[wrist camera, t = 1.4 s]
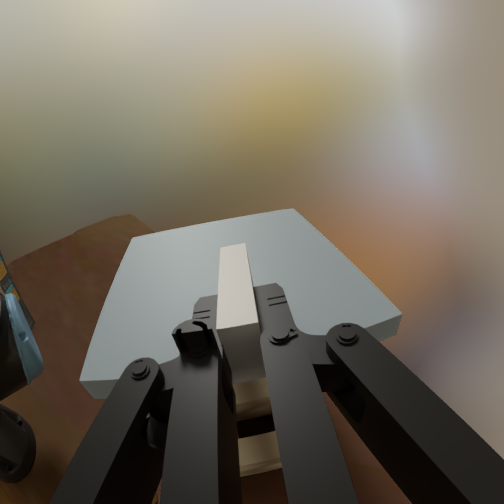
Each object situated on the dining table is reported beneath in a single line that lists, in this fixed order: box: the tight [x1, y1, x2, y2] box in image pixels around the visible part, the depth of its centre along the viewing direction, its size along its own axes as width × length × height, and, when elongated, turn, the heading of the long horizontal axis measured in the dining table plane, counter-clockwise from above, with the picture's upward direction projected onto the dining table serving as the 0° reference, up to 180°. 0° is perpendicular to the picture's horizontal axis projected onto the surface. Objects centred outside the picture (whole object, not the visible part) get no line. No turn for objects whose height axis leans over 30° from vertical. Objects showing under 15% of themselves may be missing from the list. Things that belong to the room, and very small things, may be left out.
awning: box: [80, 208, 402, 399], centre depth 24 cm, size 16×17×26 cm
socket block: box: [233, 377, 282, 477], centre depth 28 cm, size 12×12×5 cm
